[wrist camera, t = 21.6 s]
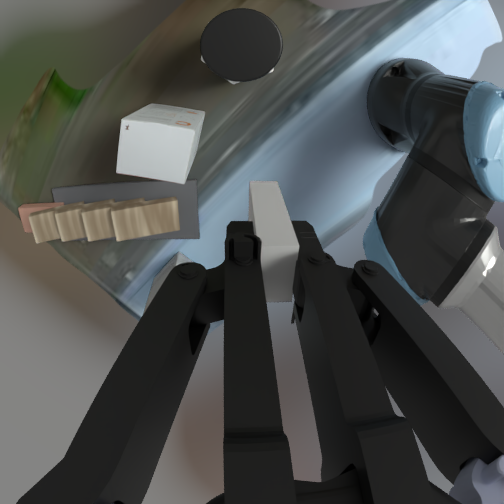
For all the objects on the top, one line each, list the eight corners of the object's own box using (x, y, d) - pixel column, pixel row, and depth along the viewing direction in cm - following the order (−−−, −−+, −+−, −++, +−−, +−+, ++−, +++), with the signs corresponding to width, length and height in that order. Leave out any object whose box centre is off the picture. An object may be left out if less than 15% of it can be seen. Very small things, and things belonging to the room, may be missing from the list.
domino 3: (114, 202, 44) (54, 214, 41) (119, 230, 47) (62, 241, 44) (114, 198, 46) (56, 209, 42) (119, 226, 48) (63, 237, 45)
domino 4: (145, 201, 45) (81, 212, 41) (148, 230, 47) (88, 241, 44) (144, 197, 46) (82, 208, 43) (147, 225, 49) (88, 236, 45)
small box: (144, 144, 42) (113, 174, 31) (150, 102, 39) (119, 117, 28) (197, 153, 43) (184, 186, 33) (206, 111, 40) (196, 128, 29)
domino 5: (177, 200, 45) (111, 211, 42) (180, 230, 48) (116, 241, 44) (175, 196, 46) (111, 207, 43) (178, 225, 49) (116, 236, 46)
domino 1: (59, 206, 44) (18, 208, 43) (65, 233, 46) (25, 232, 46) (63, 202, 45) (22, 204, 45) (69, 228, 48) (29, 228, 48)
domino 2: (83, 204, 44) (28, 217, 41) (89, 232, 47) (36, 243, 43) (83, 200, 45) (30, 212, 42) (89, 227, 48) (38, 238, 44)
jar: (263, 86, 39) (273, 92, 29) (203, 76, 37) (192, 80, 27) (276, 27, 34) (292, 13, 24) (216, 17, 33) (209, -1, 23)
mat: (196, 179, 46) (196, 180, 45) (199, 236, 51) (199, 238, 51) (53, 187, 44) (51, 189, 44) (66, 238, 50) (64, 240, 49)
